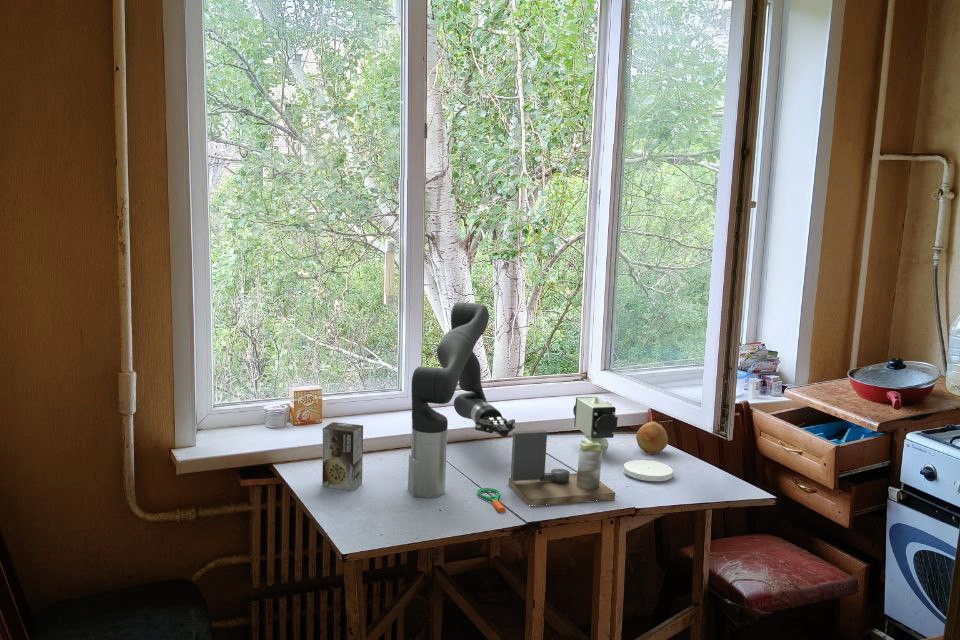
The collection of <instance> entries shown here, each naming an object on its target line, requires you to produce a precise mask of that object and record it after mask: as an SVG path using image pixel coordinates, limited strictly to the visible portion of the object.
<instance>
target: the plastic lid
mask: <svg viewBox="0 0 960 640" xmlns="http://www.w3.org/2000/svg"><path fill="white" fill-rule="evenodd" d="M673 469H674V468H672V467H671V466H670V465H667V464H665V463H663V462H658V461H655V460H647V459H645V460H644V459H635V460H629V461H627V462H624V464H623V473H624V474H625V475H626V476H629V477H630V478H633V479H636V480H641V481H645V482H646V481H647V482H648V481H649V482H665V481H669V480H671V479H672V478H673V475H674V470H673Z"/></svg>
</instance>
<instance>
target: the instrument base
mask: <svg viewBox="0 0 960 640" xmlns="http://www.w3.org/2000/svg"><path fill="white" fill-rule="evenodd" d="M602 454H603V453H602V450H601V445H600V444H599V443H582V442H581V443H580V447H579V448H578V461H577V473H576V472H575V473H574V472H573V473H570V476H569V482H568V483H563V484H561V483H555V482H552V481H540V480H539V479H537V480H522V481H512V480H511V477H508V483H507V484H509V485H508V486H509V488H511V489H512V490H513V491H514V492H515V493H516V494H517V495H518V496H519V497H520V499H522V501H524V503H525V504H526V505H527V506H529V505H530V506H531V505H544V506H549V505H548V504H557V505H565V504H564V503H570V504H577V503H576V502H582V503H587V502H586V501H595V502H599V501H598V500H608V501H613V500H612V499H616V492H615V491H614V490H612V489H611V488H610V487H609V486H607V485H606V484H605V483H603V482H602V481H601V467H602V465H601V464H602ZM596 500H597V501H596ZM574 502H575V503H574ZM546 504H547V505H546Z"/></svg>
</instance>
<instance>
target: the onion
mask: <svg viewBox="0 0 960 640" xmlns="http://www.w3.org/2000/svg"><path fill="white" fill-rule="evenodd" d="M635 439H636V443H637V445H638V447H639V448H640V450H641V451H643V452H645V453H647V454H650V455H656V454H658V453H660V452H662V451H663V450H665V448H666V447H667V445H668V444H669V436H668V433H667V431H666V429H665V428H664V426H663V425H662V424H660V423H658V422H657V421H649V422H647V423H645V424H643V425H642V426H641V427H640V428H639V429H638V430H637V432H636V434H635Z"/></svg>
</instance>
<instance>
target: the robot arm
mask: <svg viewBox="0 0 960 640" xmlns="http://www.w3.org/2000/svg"><path fill="white" fill-rule="evenodd" d="M489 320H490V313H489V310H488V308H487V306H486V305H484V304H481V303H478V302H477V303H476V302H475V303H474V302H464V301H463V302H461V301H460V302H455V303H454V304H453V306H452V308H451V313H450V325H451V330H449V331H448V332H446V333H445V334H444V336H443V337H442V339H441V340H440V342H439V344H438V346H437V348H436V356H437V359H438V362H439V363H440V365H441V367H436V366H435V367H433V366H423V365H422V366H417V367H416V368H415V369H414V370H413V374H412V377H411V447H410V451H411V452H410V453H409V454H408V472H407V473H408V474H407V477H408V478H407V490H408V491H409V493H410V494H411V497H419V498H437V497H440V496H442V495H444V494H445V492H446V475H447V474H446V473H447V450H448V425H449V423H448V418H447V416H445V415H444V414H442V413H440V412H438V411H436V410H434V409H433V408H432V407H431V406H430V405H429V404H435V405H436V404H438V405H445V404H449V403H450V402H451V400H452V399H453V397H454V395H455V392H456V389H457V387H458V385H459V388H460V389H461V390H462V391H464V392H466V393H461V394H458V395H457V396H455V397H454V398H455V399H454V401H453V407H454V410H455V412H456V413H457V415H459V416H460V417H462V418H464V419H468V420H472V422H474V425H475V426H474V430H475V431H480V432H483V433H487V434H488V433H489V434H493V433H495V434H496V435H499V436H501V437H503V438H505V437H508V435H509V433H511V432H513V430H515V428H516V419H514V418H513V419H510V420H509V419H508V420H507V419H506V418H505V417H503V415H502V413H501V412H500V411H499V410H498V409H497V408H495V407H494V406H493V405H492V404H490V403H488V402H487V398H486V396H485V393H484V390H483V387H482V378H481V374H482V373H481V372H482V371H481V364H480V361H479V359H478V357H477V355H476V353H475V352H474V348H475V346H476V344H477V342H478V341H479V340H480V338H481V336H482V335H483V334H484V333H485V331H486V329H487V327H488V324H489Z"/></svg>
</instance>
